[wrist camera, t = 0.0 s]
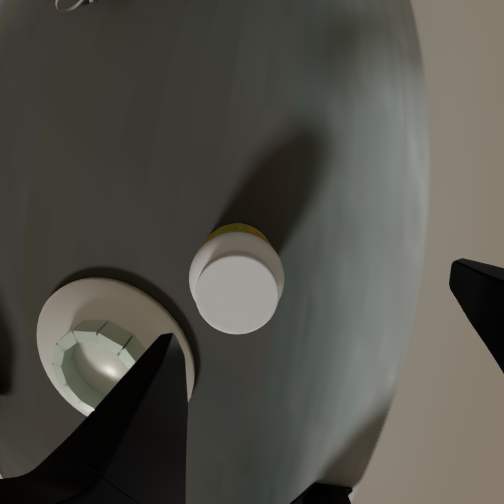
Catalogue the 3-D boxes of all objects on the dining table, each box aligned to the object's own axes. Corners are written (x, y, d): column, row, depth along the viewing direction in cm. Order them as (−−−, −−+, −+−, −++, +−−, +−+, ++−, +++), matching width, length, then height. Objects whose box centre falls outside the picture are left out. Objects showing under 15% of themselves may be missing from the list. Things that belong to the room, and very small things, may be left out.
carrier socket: (161, 445, 27) (155, 467, 24) (33, 374, 25) (17, 390, 22) (225, 332, 25) (224, 351, 21) (62, 244, 23) (41, 251, 20)
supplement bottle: (248, 209, 23) (256, 216, 14) (284, 268, 24) (313, 312, 15) (188, 246, 24) (157, 278, 14) (226, 303, 25) (220, 364, 15)
